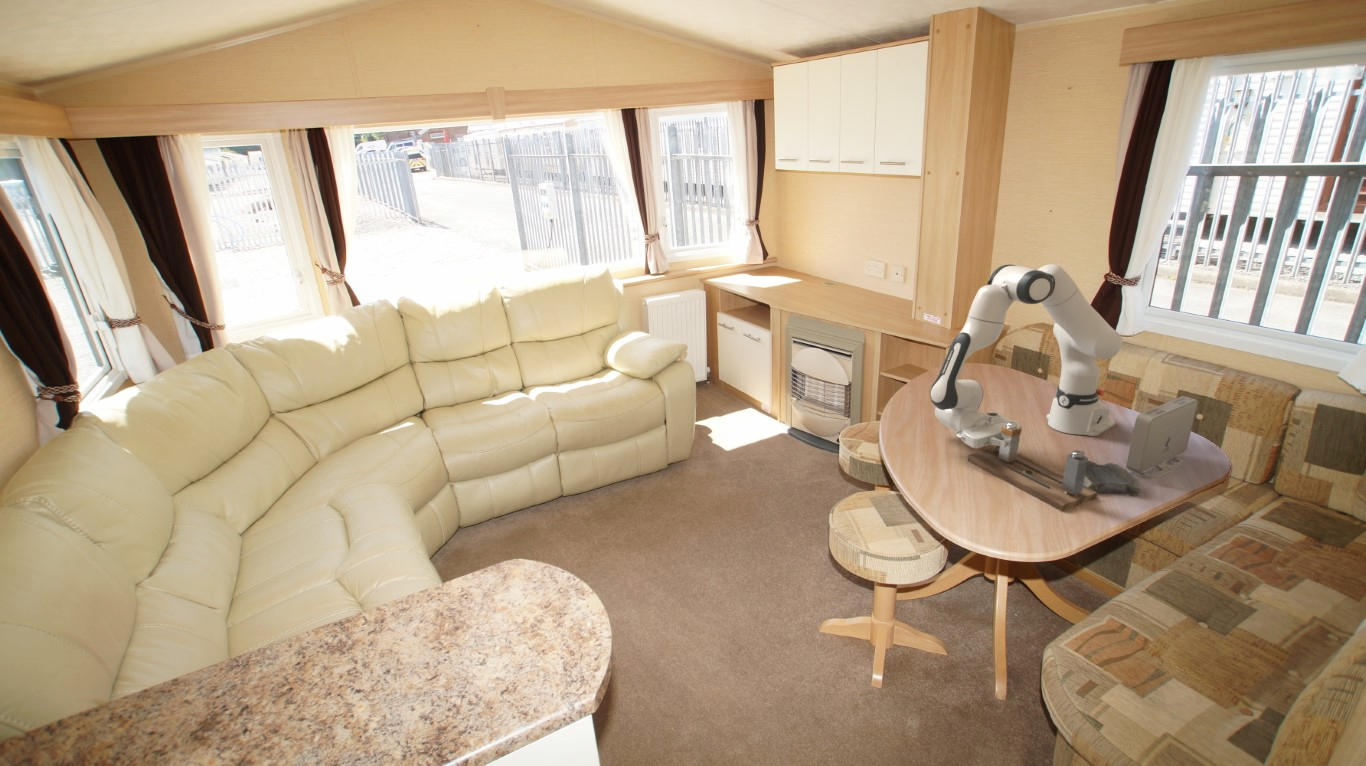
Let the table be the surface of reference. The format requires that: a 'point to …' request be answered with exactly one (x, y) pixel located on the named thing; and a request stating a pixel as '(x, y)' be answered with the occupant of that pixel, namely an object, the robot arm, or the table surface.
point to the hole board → (1031, 478)
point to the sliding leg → (1010, 441)
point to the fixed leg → (1074, 472)
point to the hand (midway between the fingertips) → (1012, 443)
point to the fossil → (1110, 479)
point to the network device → (1161, 436)
